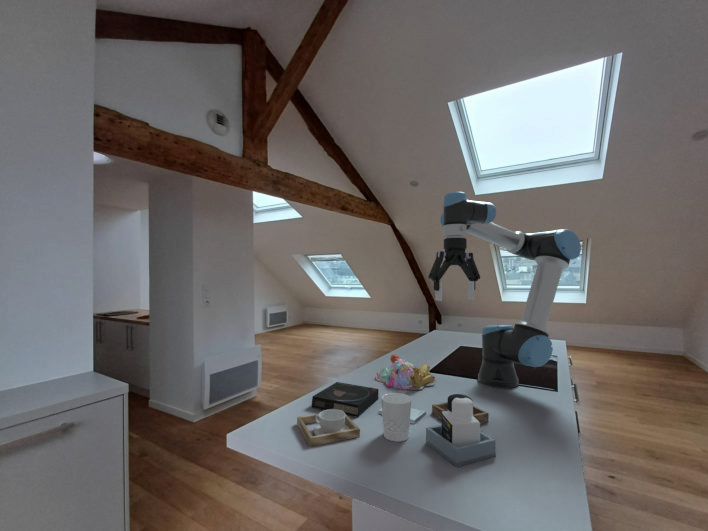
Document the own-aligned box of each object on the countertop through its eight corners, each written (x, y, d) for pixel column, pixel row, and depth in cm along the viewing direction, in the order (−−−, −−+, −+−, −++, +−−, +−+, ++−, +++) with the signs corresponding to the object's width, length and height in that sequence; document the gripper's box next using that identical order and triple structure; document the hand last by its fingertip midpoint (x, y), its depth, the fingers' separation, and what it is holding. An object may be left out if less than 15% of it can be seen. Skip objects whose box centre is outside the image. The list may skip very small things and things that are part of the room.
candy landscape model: (443, 379, 139) (443, 357, 139) (423, 396, 119) (423, 370, 120) (389, 369, 153) (389, 349, 153) (363, 383, 133) (363, 360, 133)
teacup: (354, 427, 94) (355, 410, 94) (342, 443, 84) (342, 424, 85) (322, 421, 97) (323, 405, 97) (307, 436, 88) (307, 418, 88)
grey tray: (461, 434, 89) (461, 420, 90) (495, 456, 79) (495, 440, 79) (426, 442, 85) (426, 427, 85) (456, 466, 74) (456, 449, 74)
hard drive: (426, 411, 102) (391, 401, 110) (414, 420, 96) (378, 409, 103) (426, 416, 102) (390, 406, 110) (414, 426, 96) (378, 415, 103)
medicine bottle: (441, 438, 85) (441, 391, 86) (467, 438, 86) (467, 391, 86) (451, 453, 78) (451, 402, 79) (480, 452, 79) (480, 401, 79)
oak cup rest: (341, 416, 100) (341, 409, 100) (359, 436, 88) (359, 428, 88) (297, 424, 95) (297, 416, 95) (310, 446, 82) (310, 438, 82)
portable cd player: (311, 409, 107) (311, 396, 107) (336, 392, 122) (337, 381, 122) (357, 419, 99) (357, 406, 100) (378, 400, 115) (378, 388, 115)
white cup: (410, 444, 84) (410, 404, 84) (379, 441, 85) (379, 402, 86) (411, 430, 92) (411, 394, 92) (383, 427, 93) (383, 391, 93)
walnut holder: (461, 407, 108) (461, 399, 108) (488, 421, 98) (488, 413, 98) (432, 412, 104) (432, 404, 104) (457, 428, 93) (457, 419, 93)
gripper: (431, 234, 105) (431, 301, 104) (491, 238, 115) (491, 300, 114) (418, 237, 112) (417, 300, 111) (475, 241, 122) (475, 298, 121)
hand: (455, 300), depth 113 cm, fingers open, 13 cm apart
